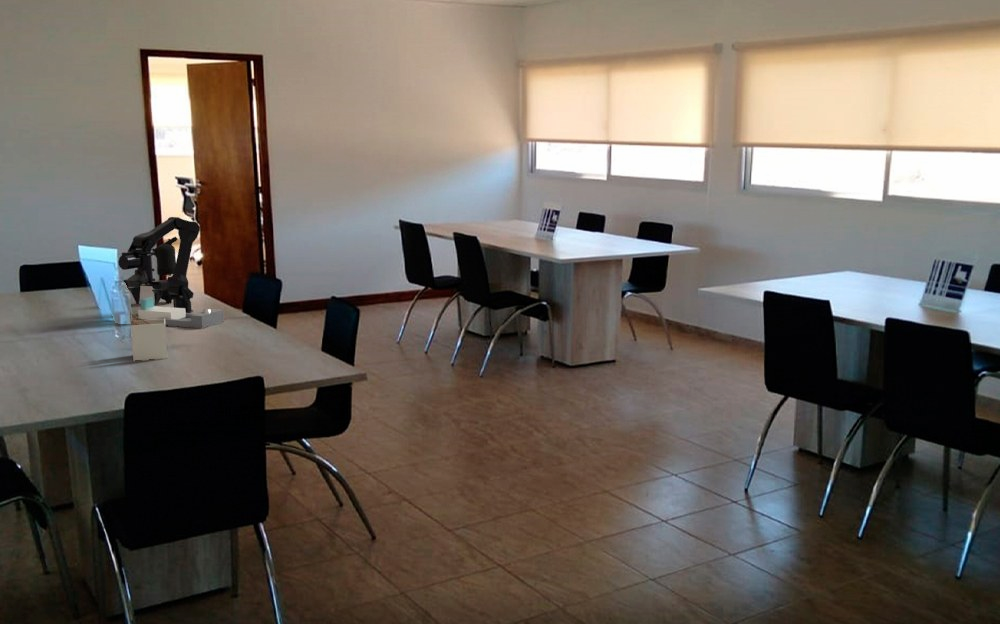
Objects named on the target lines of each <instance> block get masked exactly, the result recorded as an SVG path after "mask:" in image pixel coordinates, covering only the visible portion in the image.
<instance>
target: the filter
mask: <svg viewBox="0 0 1000 624" xmlns="http://www.w3.org/2000/svg"><path fill="white" fill-rule="evenodd" d="M177 241H178V238H177V236H174V237H172V238H168V239H167V241H165V242H163V243H161V244H159V245H158V246H157V247H155V248H154V247H153V248H152V251H154V252H155V253H156V254H155V255H154V256H155V258H156V265H157V266H156V272H157V275H159V276H162V277H172V275H173V274H174V271H175V266H176V261H177V257H176V248H175V247H174V245H173V243H175V242H177ZM151 257H153V255H151ZM163 280H165V281H167V278H165V279H164V278H163ZM160 300H163V301H165V304H167V303H170V304H173V298H170V296H169V293H168V291H167V289H166V290H164V292H163V294H162V296H161V299H160Z"/></svg>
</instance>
